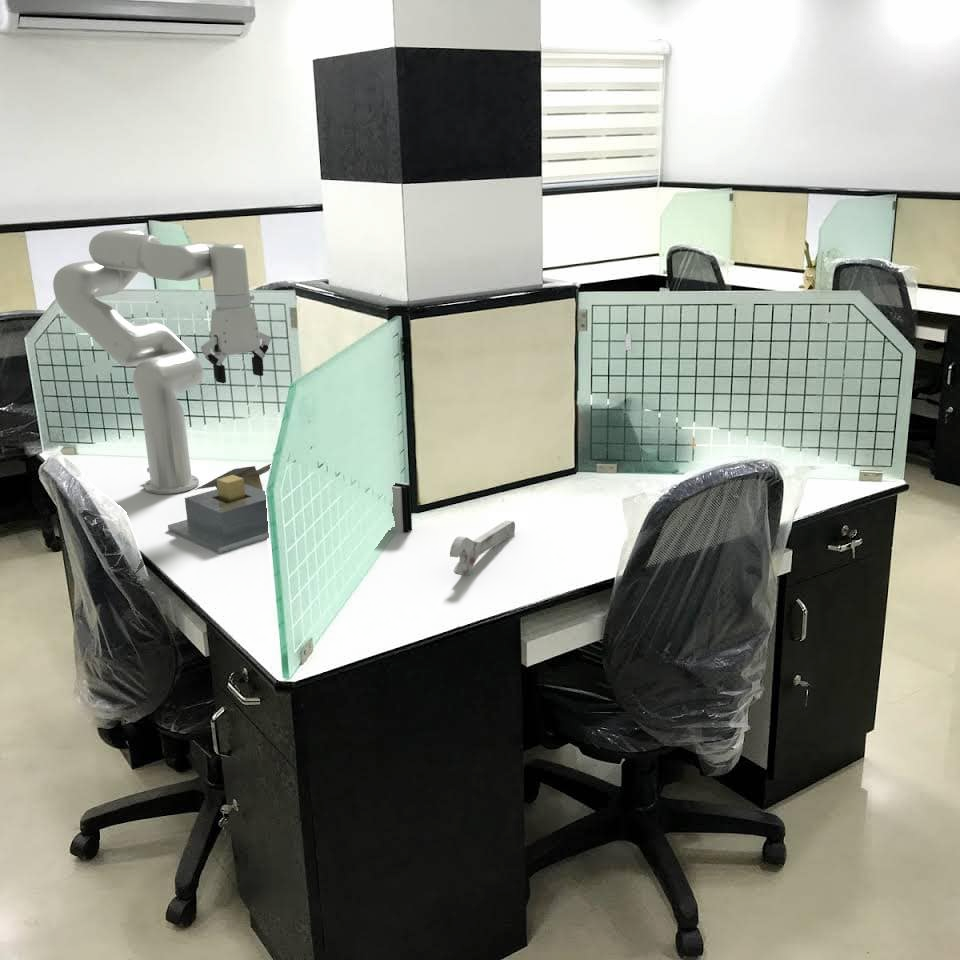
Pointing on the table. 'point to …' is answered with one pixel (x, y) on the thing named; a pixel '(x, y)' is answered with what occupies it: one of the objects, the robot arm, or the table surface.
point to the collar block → (224, 520)
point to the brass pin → (230, 489)
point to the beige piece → (242, 476)
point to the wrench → (478, 546)
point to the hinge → (401, 508)
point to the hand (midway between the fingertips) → (239, 378)
